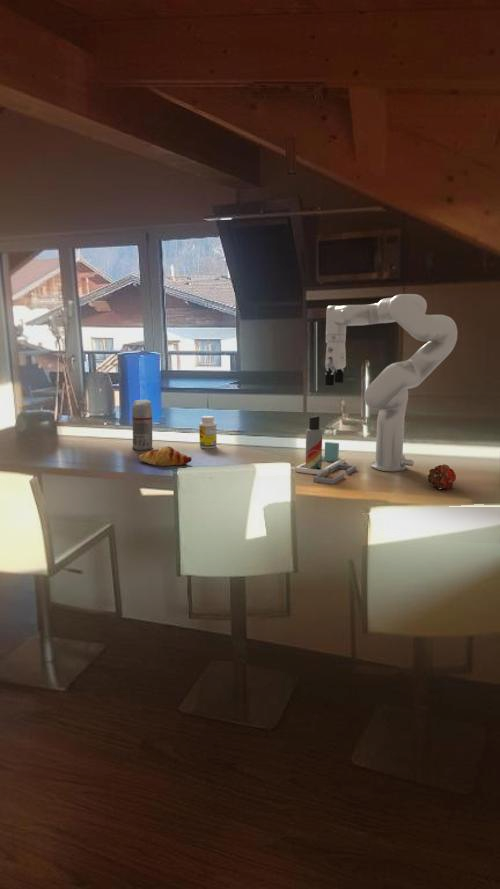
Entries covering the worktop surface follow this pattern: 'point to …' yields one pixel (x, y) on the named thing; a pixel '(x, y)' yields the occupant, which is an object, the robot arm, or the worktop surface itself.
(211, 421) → the supplement bottle
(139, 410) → the spray can
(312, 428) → the lotion bottle
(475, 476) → the worktop surface
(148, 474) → the worktop surface
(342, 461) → the lane sled
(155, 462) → the croissant
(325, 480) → the grey open frame
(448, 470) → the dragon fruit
